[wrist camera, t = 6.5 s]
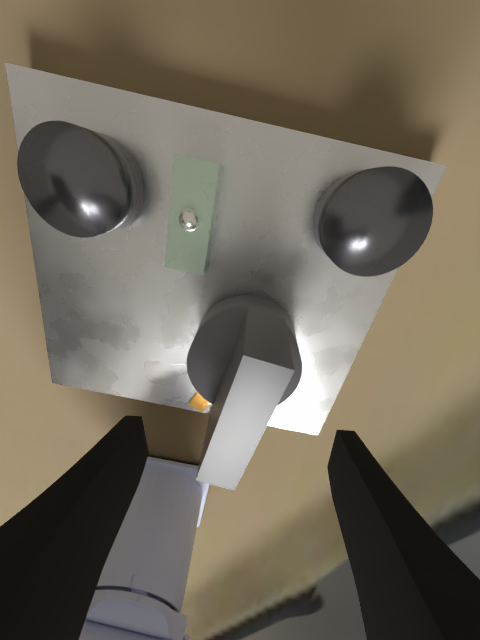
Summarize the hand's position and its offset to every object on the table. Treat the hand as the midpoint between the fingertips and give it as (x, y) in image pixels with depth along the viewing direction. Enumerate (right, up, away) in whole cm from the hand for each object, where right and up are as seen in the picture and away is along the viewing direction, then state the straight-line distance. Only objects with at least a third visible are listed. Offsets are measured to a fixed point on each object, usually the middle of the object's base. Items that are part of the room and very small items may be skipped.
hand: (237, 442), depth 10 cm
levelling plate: (-2, +6, +7) cm, 10 cm away
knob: (0, +1, +8) cm, 8 cm away
